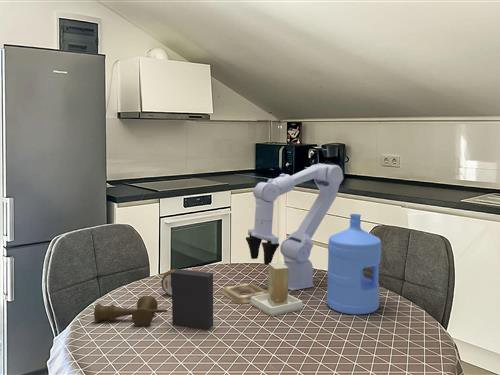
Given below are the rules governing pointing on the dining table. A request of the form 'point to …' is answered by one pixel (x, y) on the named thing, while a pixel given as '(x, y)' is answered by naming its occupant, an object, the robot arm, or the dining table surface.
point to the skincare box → (278, 284)
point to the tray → (266, 307)
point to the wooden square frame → (233, 290)
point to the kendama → (130, 311)
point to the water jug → (353, 270)
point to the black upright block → (192, 299)
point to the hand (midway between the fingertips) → (260, 261)
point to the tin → (168, 282)
